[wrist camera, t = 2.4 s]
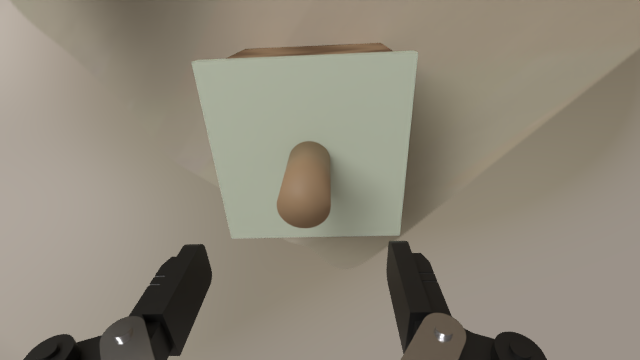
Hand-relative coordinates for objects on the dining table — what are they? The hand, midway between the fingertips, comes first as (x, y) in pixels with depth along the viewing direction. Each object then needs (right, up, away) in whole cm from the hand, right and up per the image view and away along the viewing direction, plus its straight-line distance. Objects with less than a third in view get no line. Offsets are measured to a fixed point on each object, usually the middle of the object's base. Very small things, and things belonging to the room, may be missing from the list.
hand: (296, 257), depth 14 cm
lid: (0, +5, +10) cm, 11 cm away
